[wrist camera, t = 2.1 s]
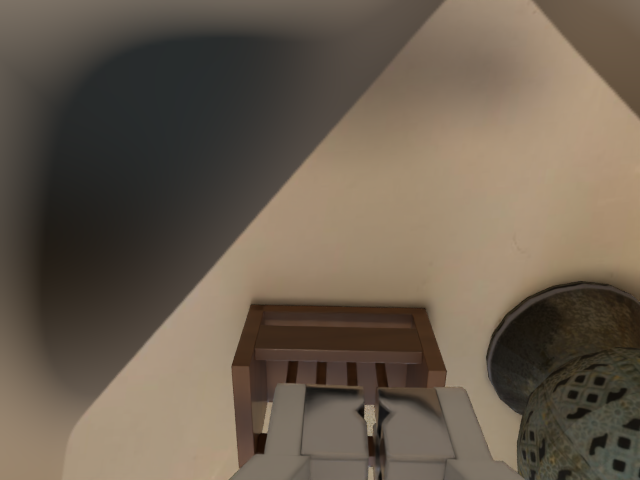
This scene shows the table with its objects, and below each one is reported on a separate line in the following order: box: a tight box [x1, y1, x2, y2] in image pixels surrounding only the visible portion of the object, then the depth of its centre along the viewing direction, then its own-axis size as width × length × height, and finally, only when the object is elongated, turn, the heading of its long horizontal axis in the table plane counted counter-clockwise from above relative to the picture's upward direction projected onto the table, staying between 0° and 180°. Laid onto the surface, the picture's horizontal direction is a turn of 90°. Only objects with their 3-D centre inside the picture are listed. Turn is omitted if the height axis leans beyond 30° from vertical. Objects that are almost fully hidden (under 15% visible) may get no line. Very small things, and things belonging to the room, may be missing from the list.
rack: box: [231, 305, 447, 468], centre depth 37 cm, size 9×14×8 cm, turn 89°
